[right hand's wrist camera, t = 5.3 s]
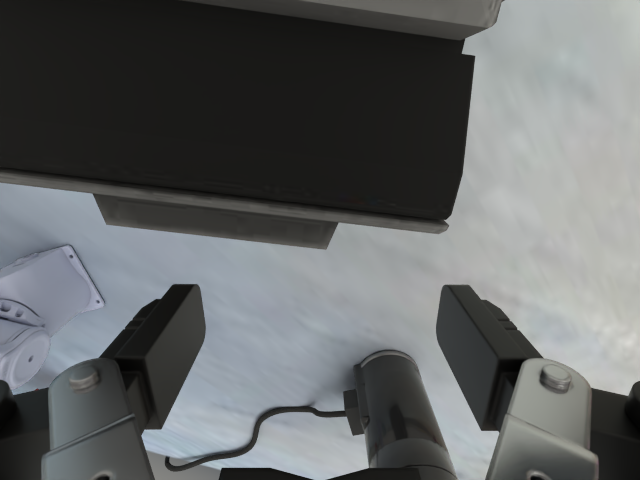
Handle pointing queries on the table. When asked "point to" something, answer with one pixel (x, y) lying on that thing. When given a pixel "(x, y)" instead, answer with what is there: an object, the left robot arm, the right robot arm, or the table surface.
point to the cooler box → (242, 111)
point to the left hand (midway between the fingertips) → (33, 412)
